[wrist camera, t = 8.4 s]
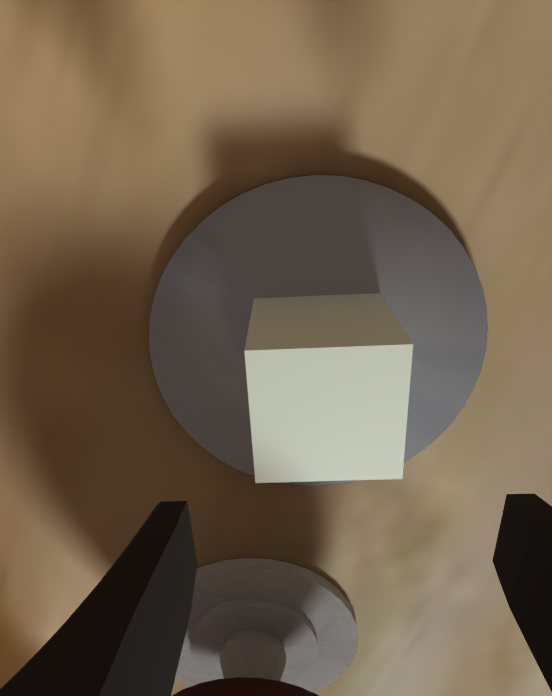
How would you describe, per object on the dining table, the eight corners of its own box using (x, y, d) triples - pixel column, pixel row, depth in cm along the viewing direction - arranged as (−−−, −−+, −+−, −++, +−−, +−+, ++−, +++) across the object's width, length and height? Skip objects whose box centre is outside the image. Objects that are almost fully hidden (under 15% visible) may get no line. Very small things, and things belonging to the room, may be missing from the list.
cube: (261, 406, 20) (255, 483, 16) (253, 298, 18) (244, 350, 14) (375, 402, 20) (402, 479, 16) (380, 292, 18) (413, 344, 14)
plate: (175, 478, 23) (172, 489, 22) (127, 181, 17) (121, 183, 17) (458, 471, 23) (464, 483, 22) (505, 166, 17) (515, 168, 16)
